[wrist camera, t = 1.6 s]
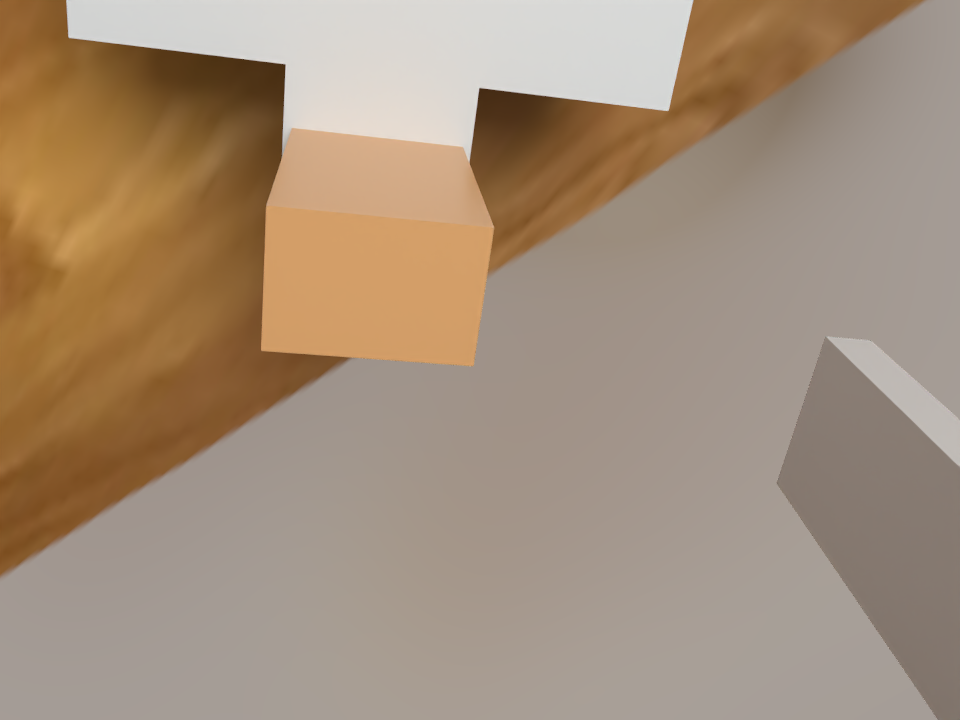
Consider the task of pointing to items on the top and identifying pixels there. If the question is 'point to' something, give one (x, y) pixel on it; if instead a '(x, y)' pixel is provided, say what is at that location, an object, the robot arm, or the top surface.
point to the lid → (397, 142)
